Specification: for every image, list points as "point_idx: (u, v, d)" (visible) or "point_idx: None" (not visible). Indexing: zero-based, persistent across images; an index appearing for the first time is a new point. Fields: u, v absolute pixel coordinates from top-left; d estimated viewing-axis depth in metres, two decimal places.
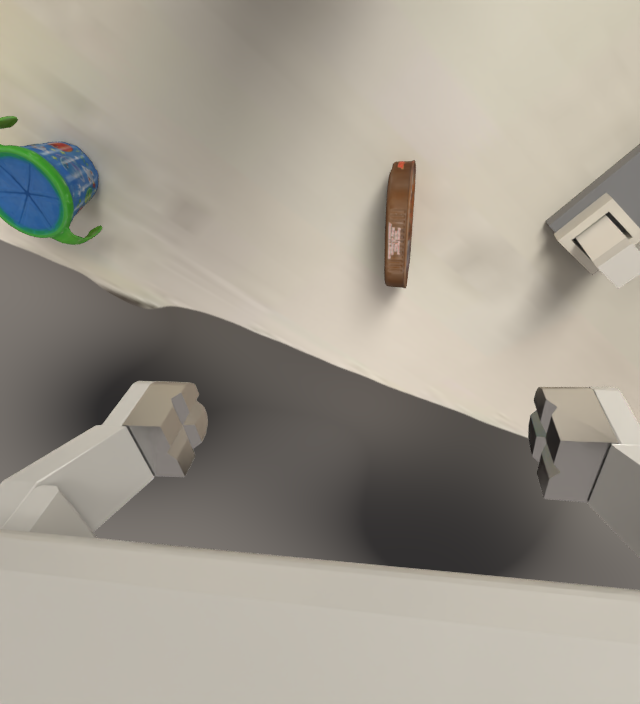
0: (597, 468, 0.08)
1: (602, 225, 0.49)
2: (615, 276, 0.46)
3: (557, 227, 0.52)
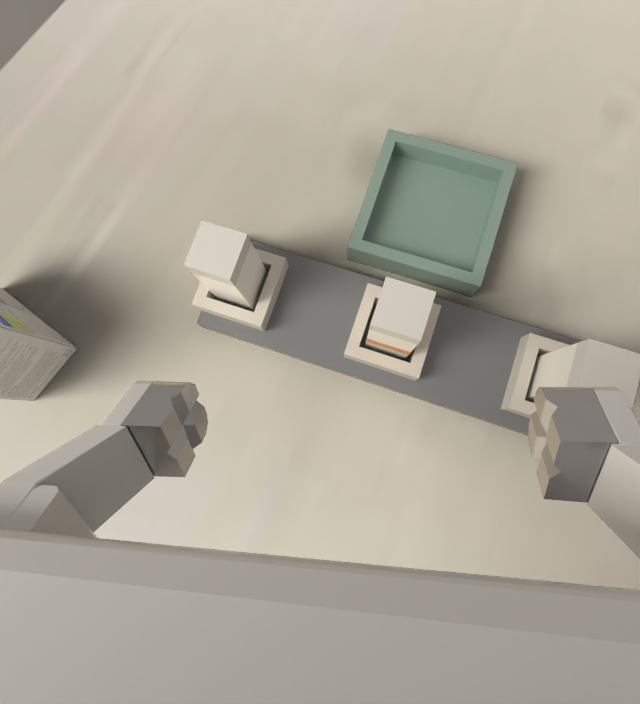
0: (597, 468, 0.08)
1: None
2: (630, 373, 0.29)
3: None
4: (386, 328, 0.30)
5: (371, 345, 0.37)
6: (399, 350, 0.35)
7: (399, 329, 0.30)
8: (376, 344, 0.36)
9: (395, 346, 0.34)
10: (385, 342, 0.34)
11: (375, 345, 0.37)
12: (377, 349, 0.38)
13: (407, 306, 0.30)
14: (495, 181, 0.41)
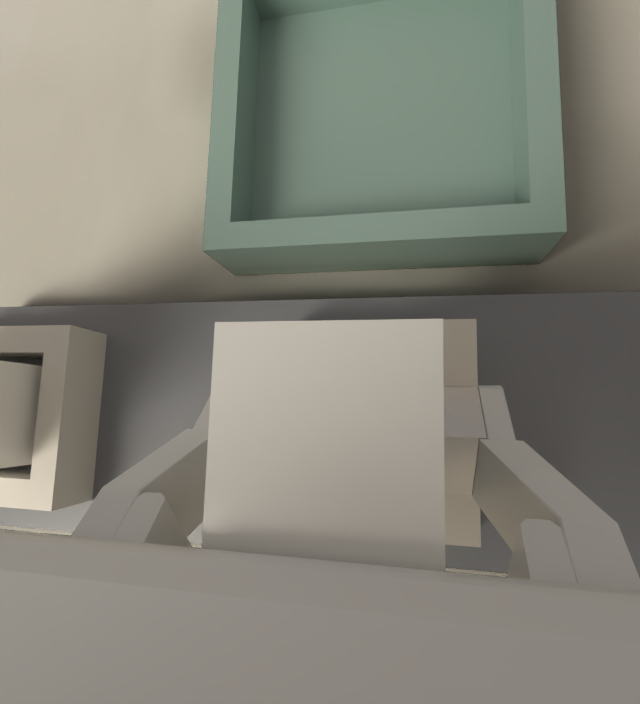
0: (473, 462, 0.09)
1: None
2: None
3: None
4: (273, 554, 0.07)
5: None
6: None
7: (331, 547, 0.06)
8: None
9: None
10: None
11: None
12: None
13: (334, 425, 0.07)
14: None
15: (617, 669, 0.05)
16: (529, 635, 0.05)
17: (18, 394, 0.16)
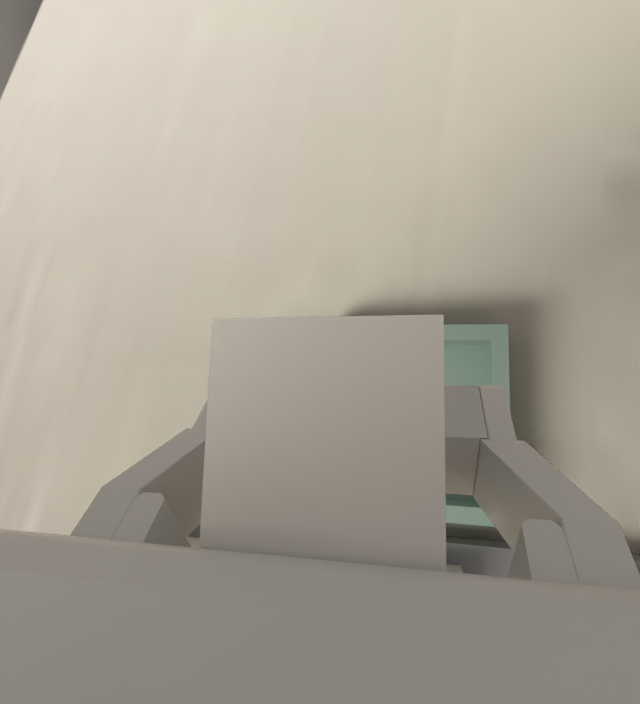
0: (474, 462, 0.09)
1: None
2: None
3: None
4: (271, 553, 0.06)
5: None
6: None
7: (330, 546, 0.06)
8: None
9: None
10: None
11: None
12: None
13: (333, 423, 0.07)
14: (484, 345, 0.29)
15: (617, 669, 0.05)
16: (529, 635, 0.05)
17: None
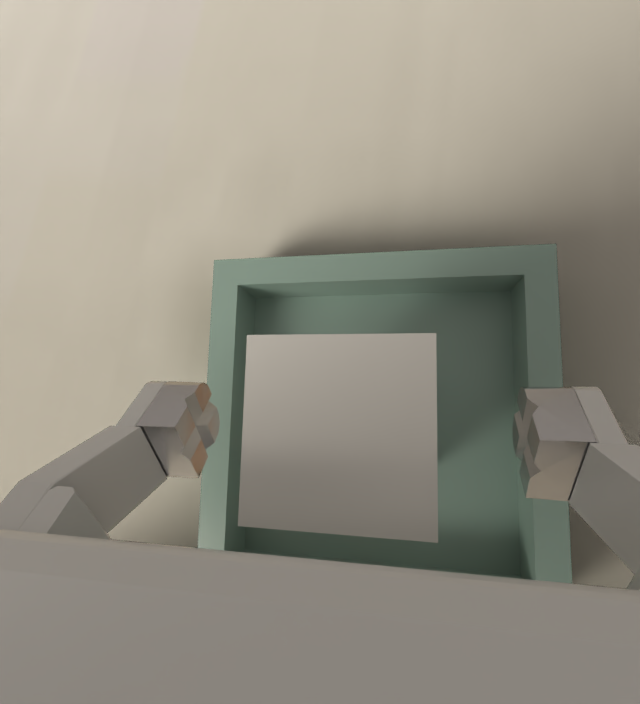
0: (576, 467, 0.08)
1: None
2: None
3: None
4: (297, 525, 0.08)
5: None
6: None
7: (344, 519, 0.08)
8: None
9: None
10: None
11: None
12: None
13: (347, 420, 0.08)
14: (508, 290, 0.16)
15: (617, 669, 0.05)
16: (529, 635, 0.05)
17: None
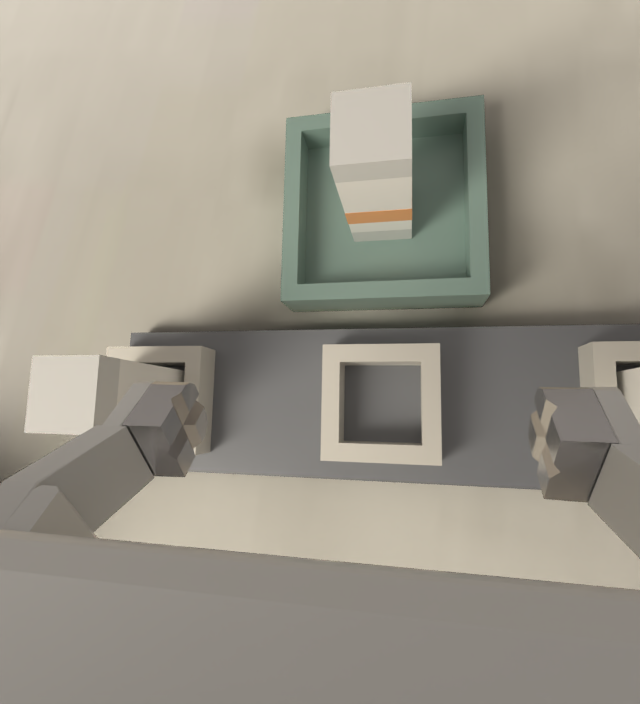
0: (597, 468, 0.08)
1: None
2: None
3: None
4: (354, 161, 0.19)
5: (359, 230, 0.27)
6: (396, 215, 0.24)
7: (374, 156, 0.19)
8: (363, 222, 0.25)
9: (387, 208, 0.24)
10: (371, 206, 0.24)
11: (363, 226, 0.26)
12: (370, 235, 0.27)
13: (375, 119, 0.20)
14: (460, 132, 0.28)
15: (617, 669, 0.05)
16: (529, 635, 0.05)
17: None
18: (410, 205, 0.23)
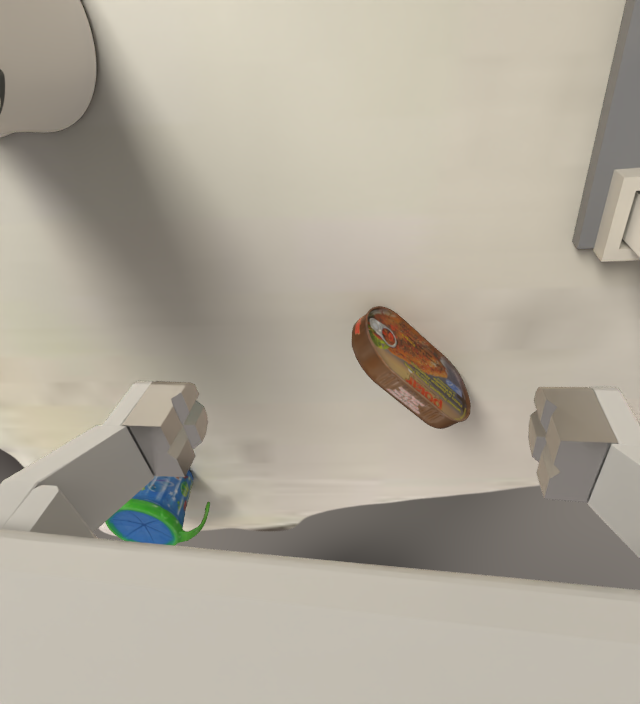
0: (597, 468, 0.08)
1: None
2: None
3: (591, 242, 0.36)
4: None
5: None
6: None
7: None
8: None
9: None
10: None
11: None
12: None
13: None
14: None
15: (617, 669, 0.05)
16: (529, 635, 0.05)
17: None
18: None
